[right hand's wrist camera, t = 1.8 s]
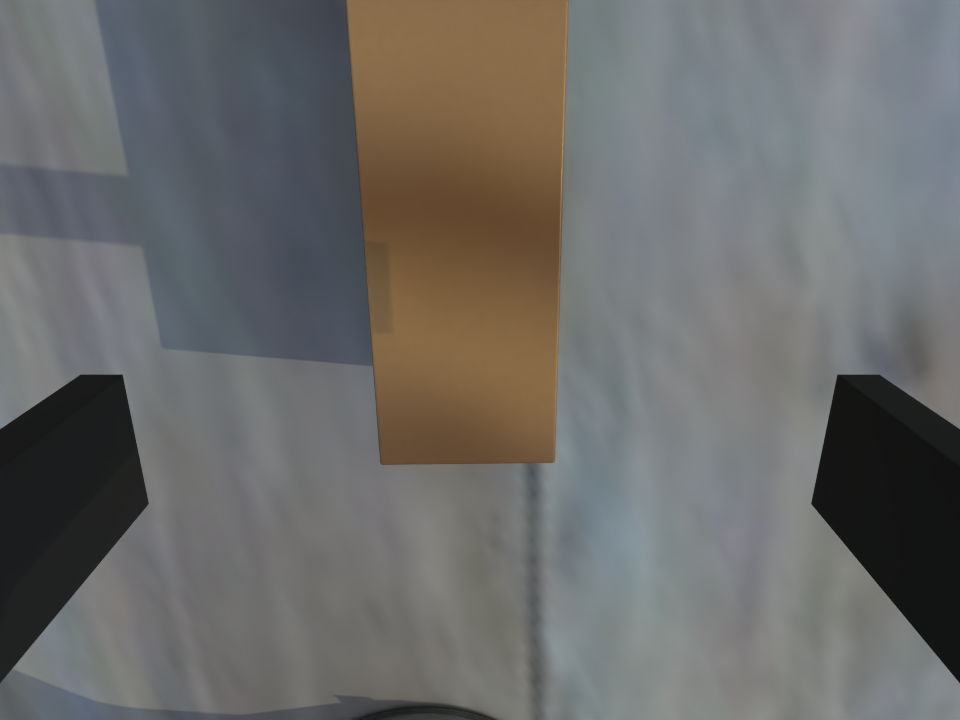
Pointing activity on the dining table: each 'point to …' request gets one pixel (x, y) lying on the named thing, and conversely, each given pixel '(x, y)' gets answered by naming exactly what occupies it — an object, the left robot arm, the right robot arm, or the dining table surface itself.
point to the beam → (462, 222)
